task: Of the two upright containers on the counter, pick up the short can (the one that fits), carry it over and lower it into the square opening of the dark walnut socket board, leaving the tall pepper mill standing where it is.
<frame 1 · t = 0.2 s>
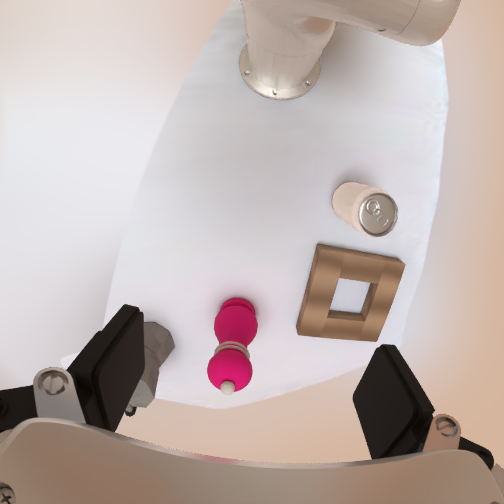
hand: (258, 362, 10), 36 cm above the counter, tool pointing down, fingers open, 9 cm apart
coffeepot: (153, 343, 53), on the counter
socket board: (348, 293, 49), on the counter
can: (349, 201, 44), on the counter
pepper mill: (237, 312, 51), on the counter
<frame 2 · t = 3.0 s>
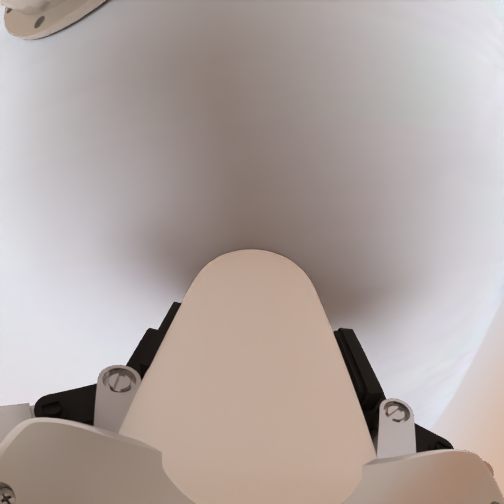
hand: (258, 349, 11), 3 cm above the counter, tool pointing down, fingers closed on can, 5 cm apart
can: (252, 306, 14), on the counter, touching gripper
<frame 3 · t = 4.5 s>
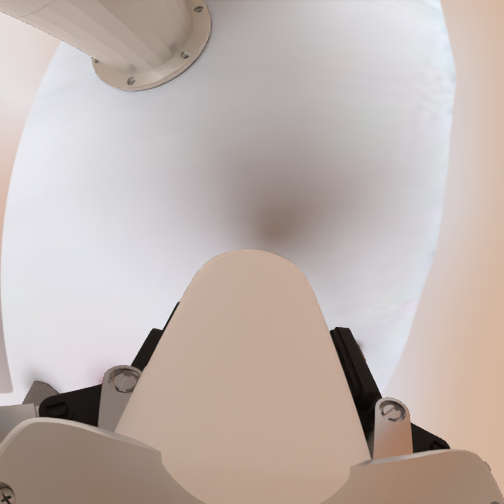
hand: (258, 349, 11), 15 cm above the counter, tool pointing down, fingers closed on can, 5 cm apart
coffeepot: (54, 403, 35), on the counter
can: (250, 306, 14), point 12 cm above the counter, touching gripper
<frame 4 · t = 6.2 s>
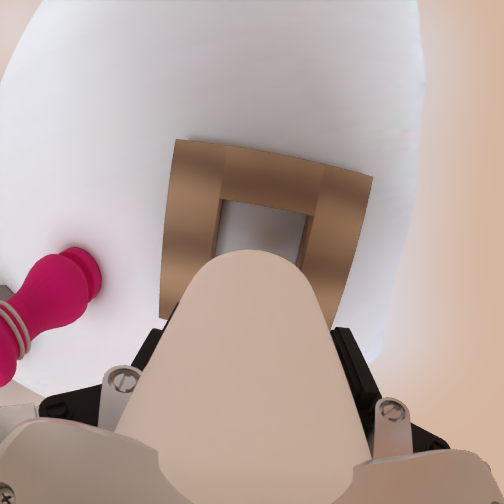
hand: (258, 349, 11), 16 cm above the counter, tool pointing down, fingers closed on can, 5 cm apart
coffeepot: (12, 316, 30), on the counter
socket board: (258, 242, 26), on the counter
can: (250, 306, 14), point 12 cm above the counter, touching gripper
pepper mill: (80, 273, 28), on the counter
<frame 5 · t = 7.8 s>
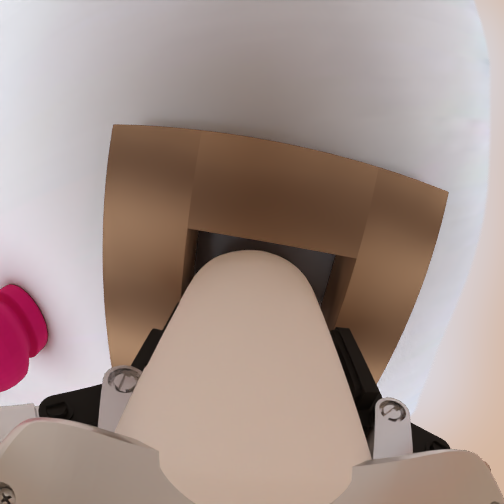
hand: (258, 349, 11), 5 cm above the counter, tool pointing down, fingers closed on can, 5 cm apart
socket board: (258, 292, 16), on the counter
can: (250, 307, 14), point 2 cm above the counter, touching gripper
pepper mill: (24, 316, 18), on the counter
when the fingers open (4 cm above the counter, at t = 8.9 s): can drops 1 cm, resting in socket board.
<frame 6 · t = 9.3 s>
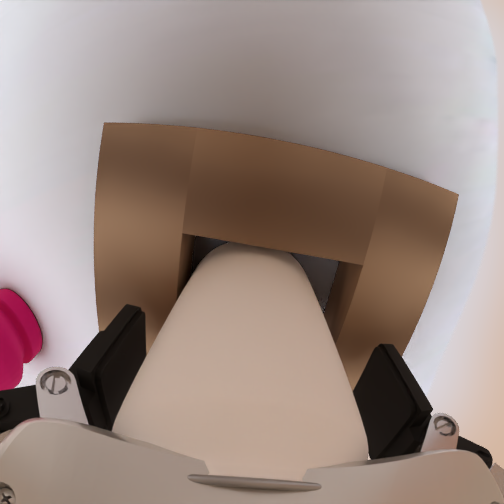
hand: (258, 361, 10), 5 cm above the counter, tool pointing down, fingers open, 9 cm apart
socket board: (258, 299, 15), on the counter
can: (249, 293, 15), resting in socket board
pepper mill: (19, 320, 17), on the counter
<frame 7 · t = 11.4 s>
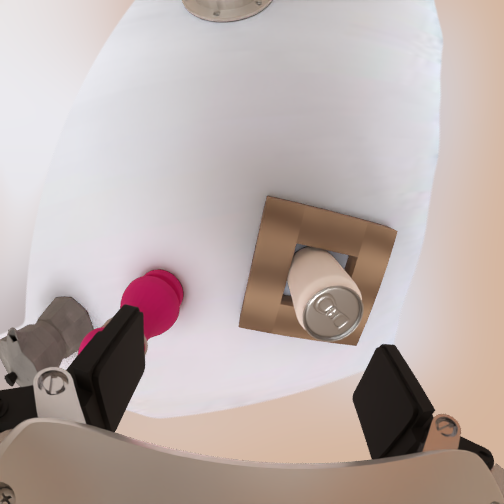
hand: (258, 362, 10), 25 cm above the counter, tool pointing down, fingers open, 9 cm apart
coffeepot: (72, 324, 39), on the counter
socket board: (314, 272, 35), on the counter
can: (310, 270, 35), resting in socket board
pepper mill: (162, 290, 37), on the counter
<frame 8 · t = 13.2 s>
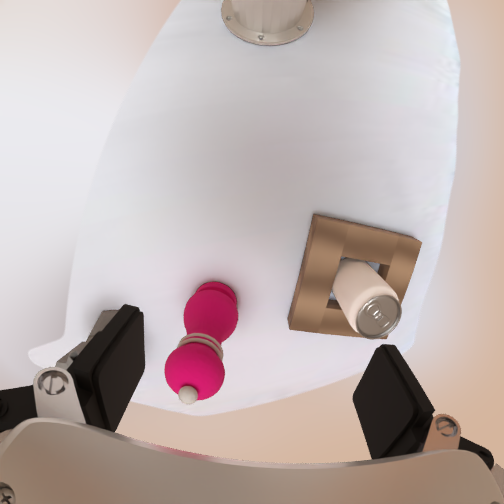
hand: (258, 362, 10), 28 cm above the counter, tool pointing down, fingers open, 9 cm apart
coffeepot: (119, 336, 44), on the counter
socket board: (352, 278, 39), on the counter
can: (349, 276, 40), resting in socket board
pepper mill: (215, 300, 41), on the counter
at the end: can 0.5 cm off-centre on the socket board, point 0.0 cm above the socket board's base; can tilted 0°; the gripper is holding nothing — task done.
